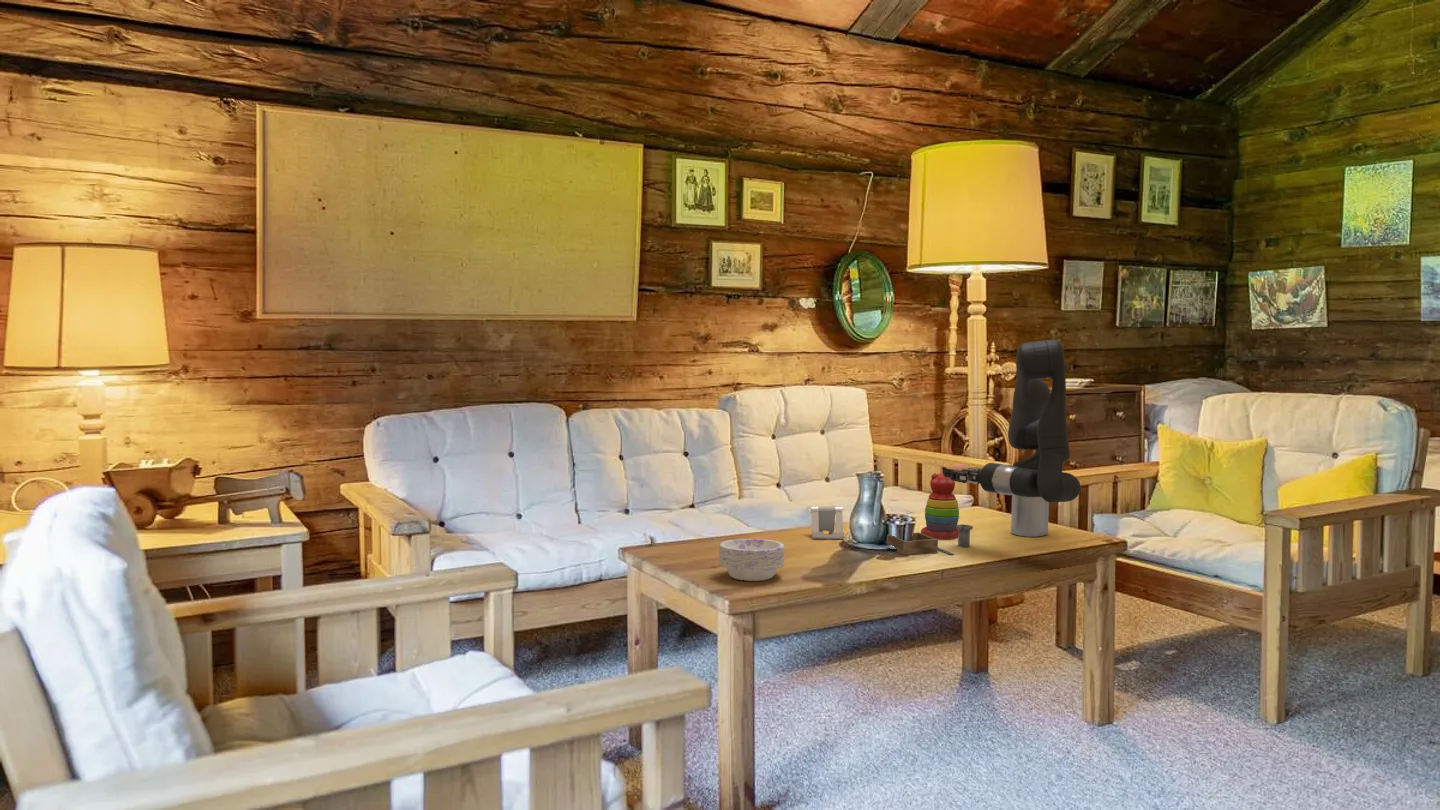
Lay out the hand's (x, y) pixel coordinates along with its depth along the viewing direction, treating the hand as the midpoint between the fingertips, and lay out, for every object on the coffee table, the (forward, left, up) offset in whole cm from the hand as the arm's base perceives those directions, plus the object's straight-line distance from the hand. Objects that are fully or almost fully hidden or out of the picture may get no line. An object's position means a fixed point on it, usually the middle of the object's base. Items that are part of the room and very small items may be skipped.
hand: (951, 471), depth 271 cm
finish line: (+6, +3, -20) cm, 21 cm away
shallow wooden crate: (+13, +3, -20) cm, 24 cm away
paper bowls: (+63, +16, -20) cm, 68 cm away
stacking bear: (-4, -11, -20) cm, 23 cm away
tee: (-3, +2, -20) cm, 20 cm away
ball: (-1, +3, 0) cm, 3 cm away
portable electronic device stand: (+27, -20, -20) cm, 39 cm away
